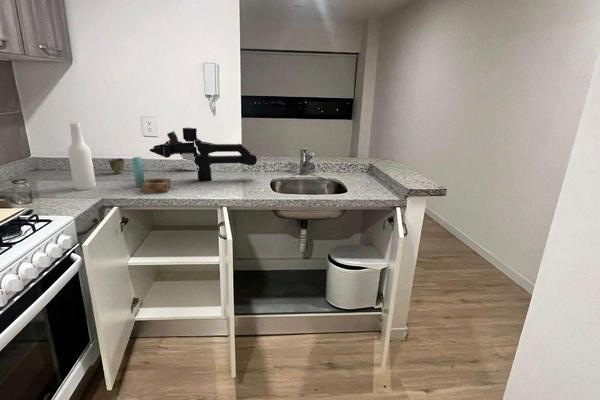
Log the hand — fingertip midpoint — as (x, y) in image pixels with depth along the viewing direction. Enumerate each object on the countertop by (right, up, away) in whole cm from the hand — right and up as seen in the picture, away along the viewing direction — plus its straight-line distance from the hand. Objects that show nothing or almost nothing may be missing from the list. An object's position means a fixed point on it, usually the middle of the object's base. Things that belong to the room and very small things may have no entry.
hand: (151, 148), depth 174 cm
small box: (+10, -8, +31) cm, 34 cm away
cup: (-26, -11, +17) cm, 33 cm away
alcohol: (-26, -21, -12) cm, 35 cm away
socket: (+7, -21, -11) cm, 25 cm away
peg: (-3, -19, -6) cm, 20 cm away
